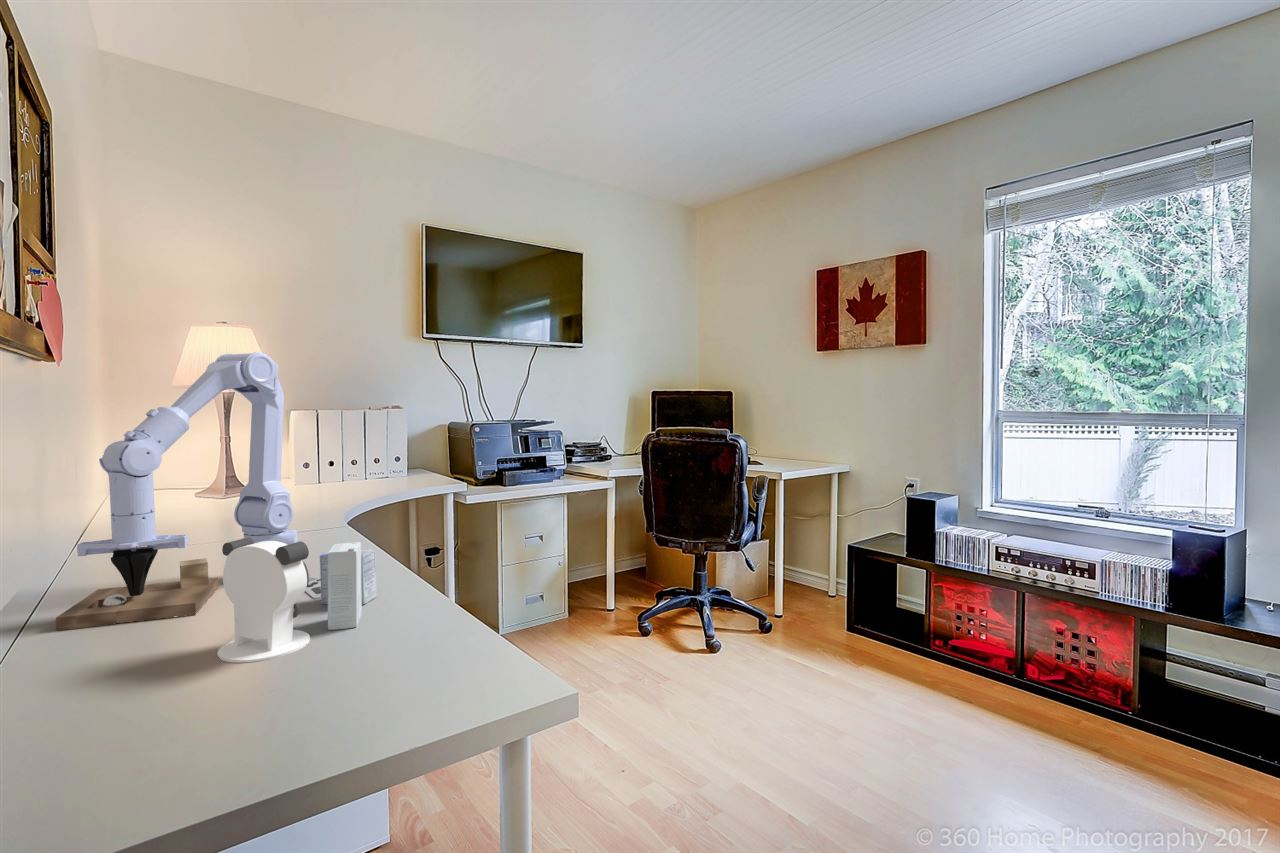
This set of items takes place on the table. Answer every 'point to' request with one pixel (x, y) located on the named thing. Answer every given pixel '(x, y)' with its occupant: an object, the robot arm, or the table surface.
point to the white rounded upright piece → (264, 598)
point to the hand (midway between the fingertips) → (136, 594)
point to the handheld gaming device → (314, 587)
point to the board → (137, 605)
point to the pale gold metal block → (193, 573)
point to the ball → (115, 600)
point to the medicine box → (366, 576)
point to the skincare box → (344, 586)
